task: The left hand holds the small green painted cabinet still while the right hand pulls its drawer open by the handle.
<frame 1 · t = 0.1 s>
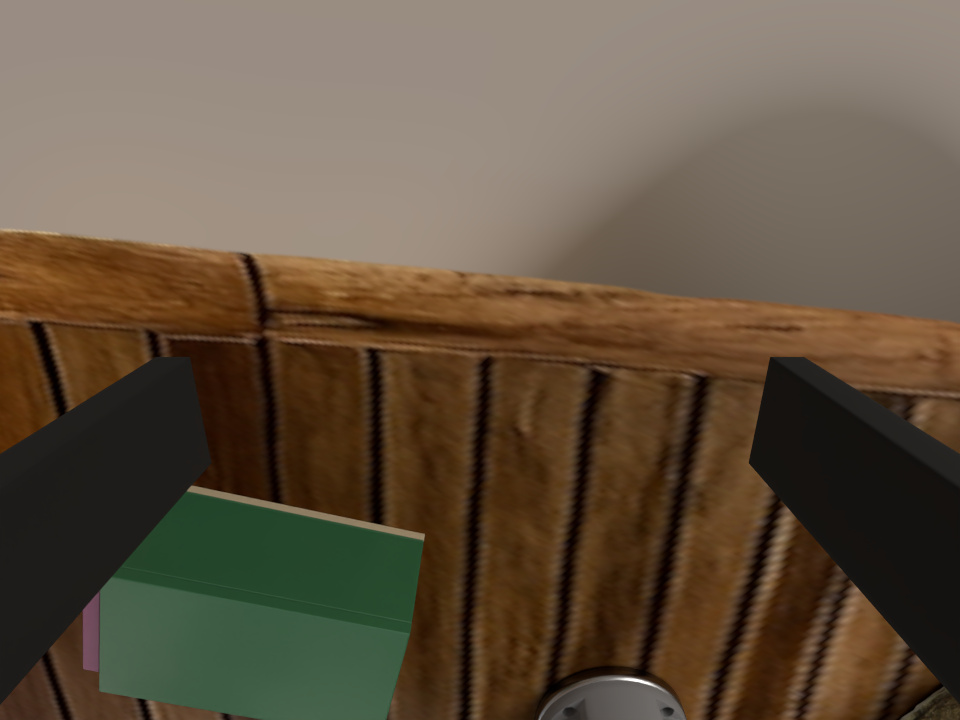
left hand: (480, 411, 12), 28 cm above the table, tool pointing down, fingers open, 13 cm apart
drawer: (210, 593, 43), point 5 cm above the table, slide at 0.6 cm
cabinet: (297, 559, 49), on the table
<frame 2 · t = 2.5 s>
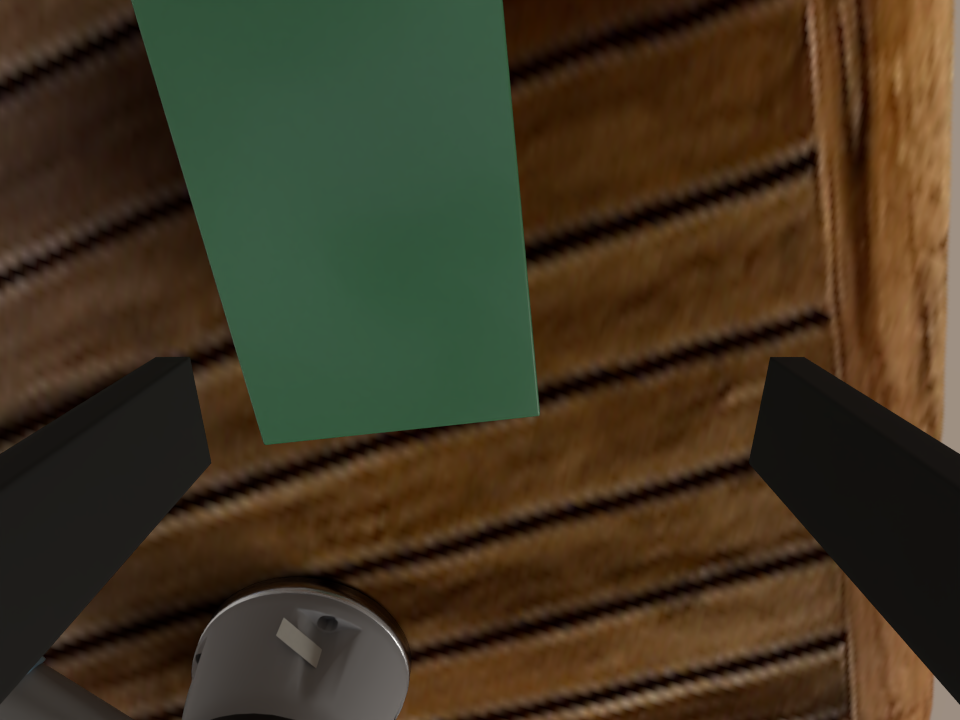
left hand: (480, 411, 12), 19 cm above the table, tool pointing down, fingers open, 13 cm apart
cabinet: (394, 151, 28), on the table
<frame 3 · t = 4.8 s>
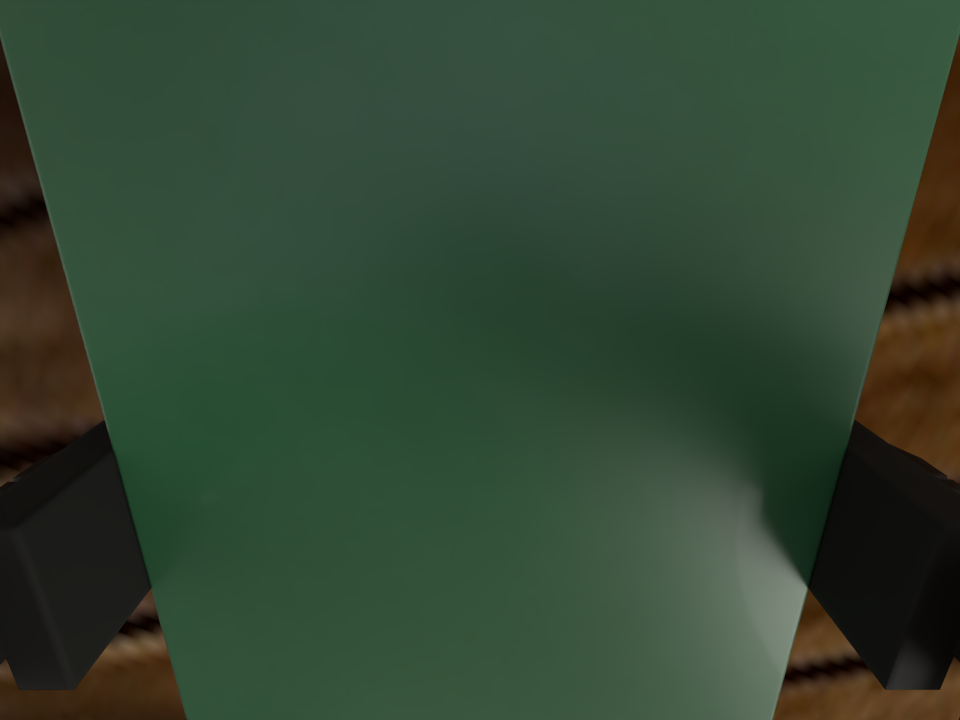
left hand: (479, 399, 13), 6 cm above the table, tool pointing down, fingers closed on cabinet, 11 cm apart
cabinet: (479, 150, 17), on the table, touching left hand
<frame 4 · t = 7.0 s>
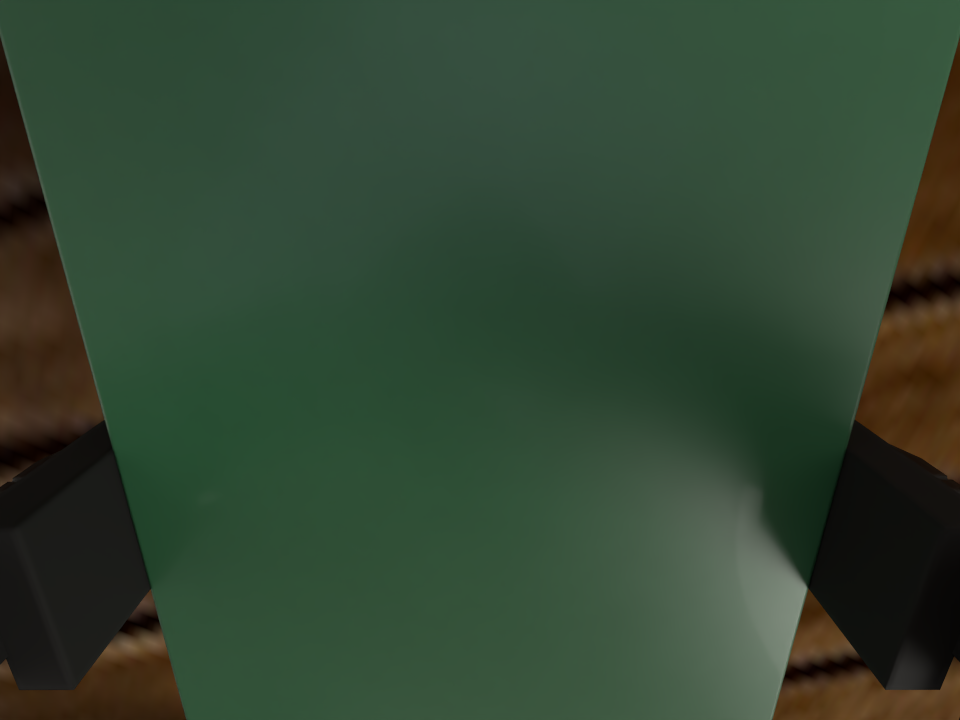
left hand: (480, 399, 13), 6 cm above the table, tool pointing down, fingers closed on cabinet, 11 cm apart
cabinet: (479, 150, 17), on the table, touching left hand
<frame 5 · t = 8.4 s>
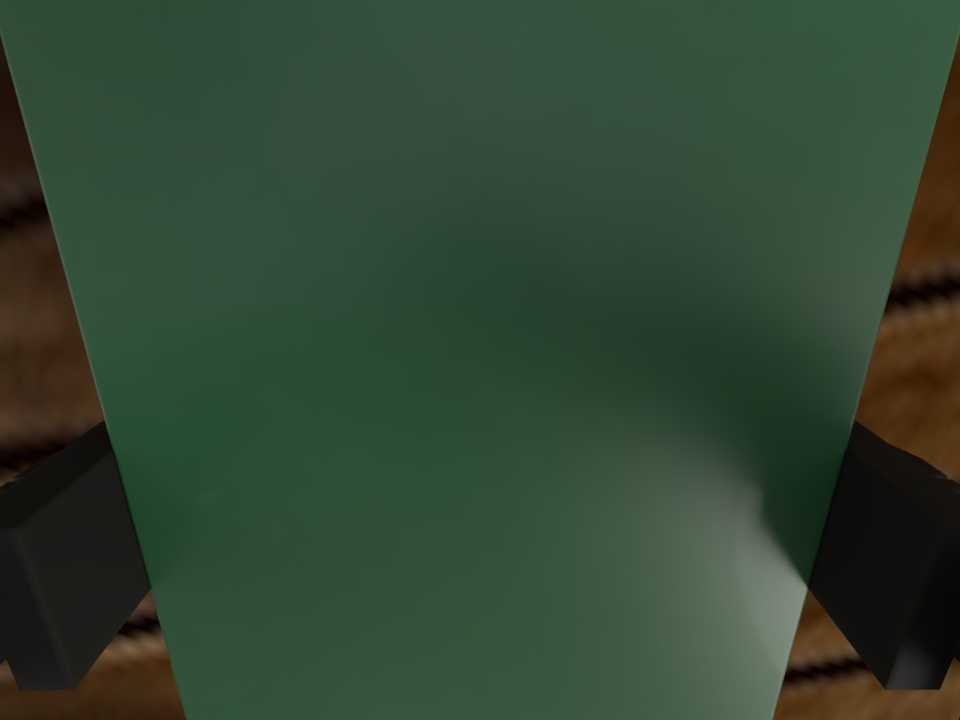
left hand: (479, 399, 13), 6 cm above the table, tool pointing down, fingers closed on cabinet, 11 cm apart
cabinet: (479, 151, 17), on the table, touching left hand
when the left hand's fingers open (6 cm above the table, at t = 10.1 s): cabinet stays where it is, on the table.
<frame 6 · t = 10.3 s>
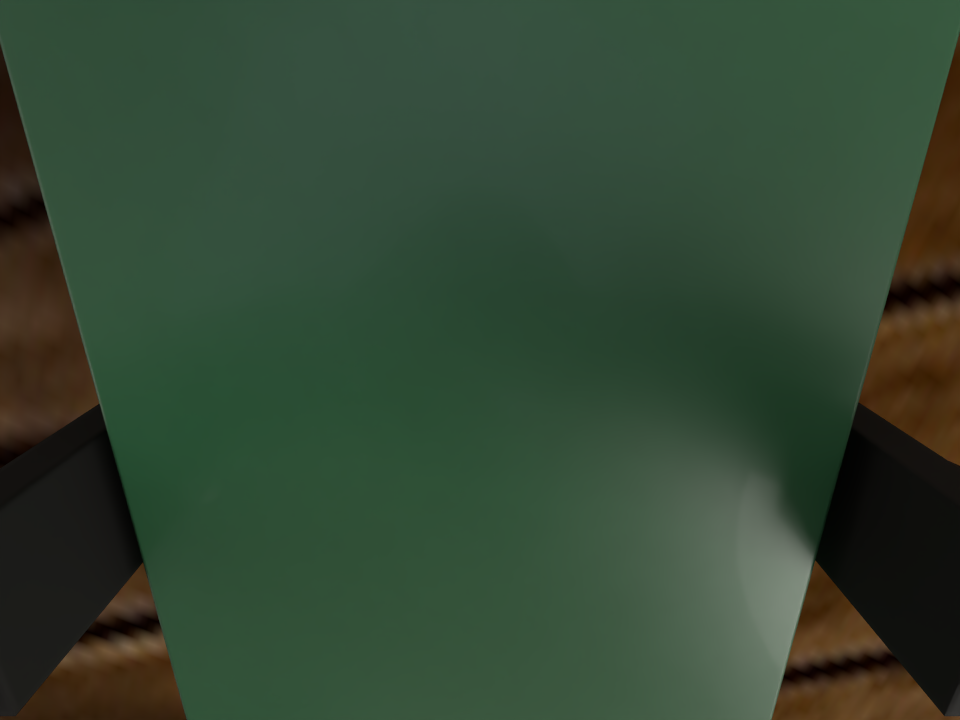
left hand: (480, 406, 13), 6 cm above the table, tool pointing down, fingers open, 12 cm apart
cabinet: (479, 141, 17), on the table
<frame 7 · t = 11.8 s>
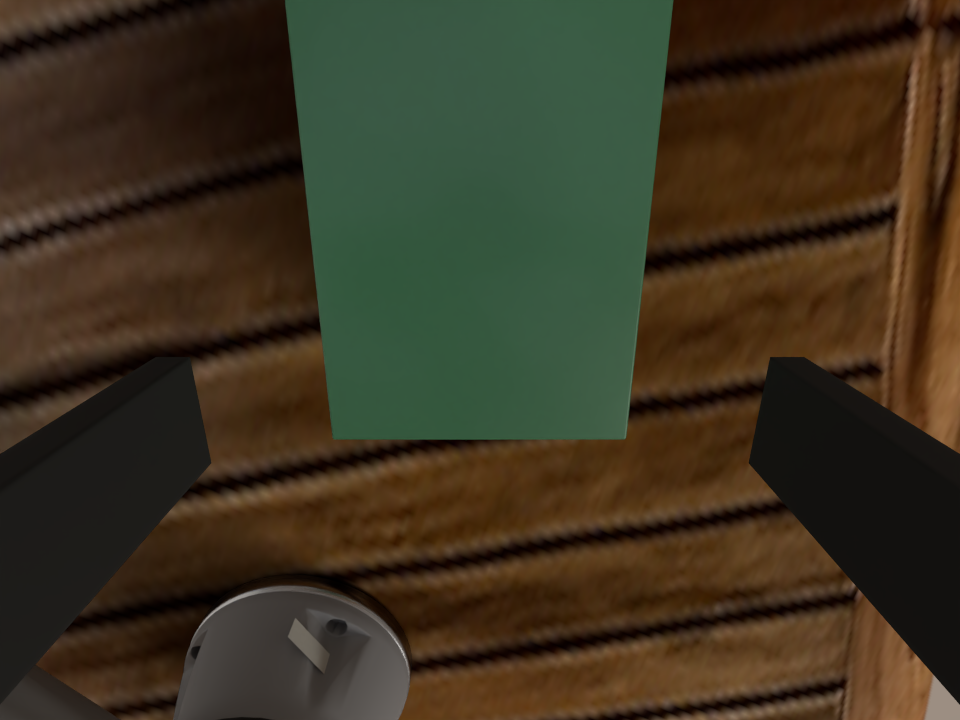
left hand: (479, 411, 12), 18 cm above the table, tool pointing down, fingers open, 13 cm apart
cabinet: (479, 146, 27), on the table
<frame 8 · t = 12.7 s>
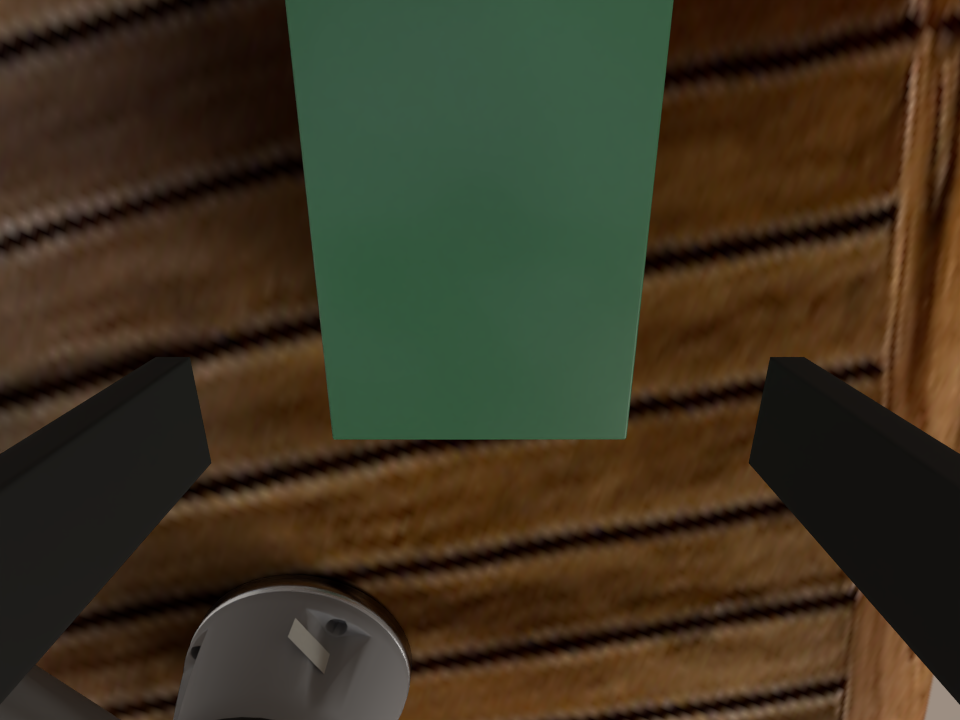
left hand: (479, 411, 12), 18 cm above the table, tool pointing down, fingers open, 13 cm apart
cabinet: (479, 146, 27), on the table
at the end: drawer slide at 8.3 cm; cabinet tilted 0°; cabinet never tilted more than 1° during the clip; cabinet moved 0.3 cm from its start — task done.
